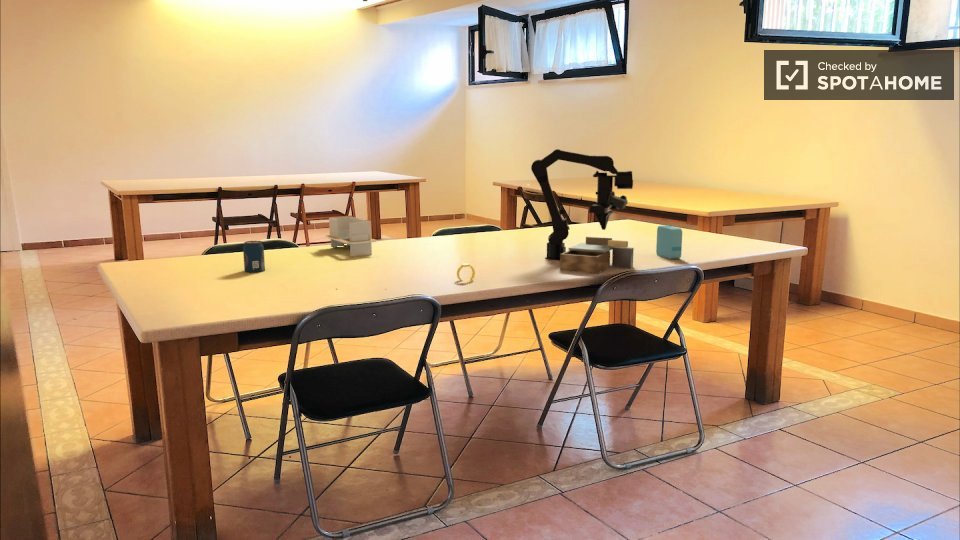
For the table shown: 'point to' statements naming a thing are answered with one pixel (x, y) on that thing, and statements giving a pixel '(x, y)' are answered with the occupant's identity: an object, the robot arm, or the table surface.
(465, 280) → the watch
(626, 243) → the bolt
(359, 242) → the architectural model
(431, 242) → the table surface
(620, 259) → the block
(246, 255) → the soda can
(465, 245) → the table surface
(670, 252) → the data package
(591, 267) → the storage box
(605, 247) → the box lid
